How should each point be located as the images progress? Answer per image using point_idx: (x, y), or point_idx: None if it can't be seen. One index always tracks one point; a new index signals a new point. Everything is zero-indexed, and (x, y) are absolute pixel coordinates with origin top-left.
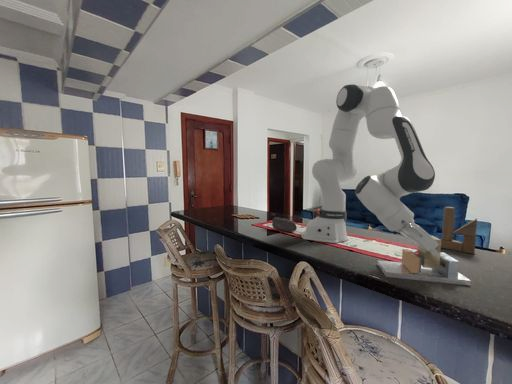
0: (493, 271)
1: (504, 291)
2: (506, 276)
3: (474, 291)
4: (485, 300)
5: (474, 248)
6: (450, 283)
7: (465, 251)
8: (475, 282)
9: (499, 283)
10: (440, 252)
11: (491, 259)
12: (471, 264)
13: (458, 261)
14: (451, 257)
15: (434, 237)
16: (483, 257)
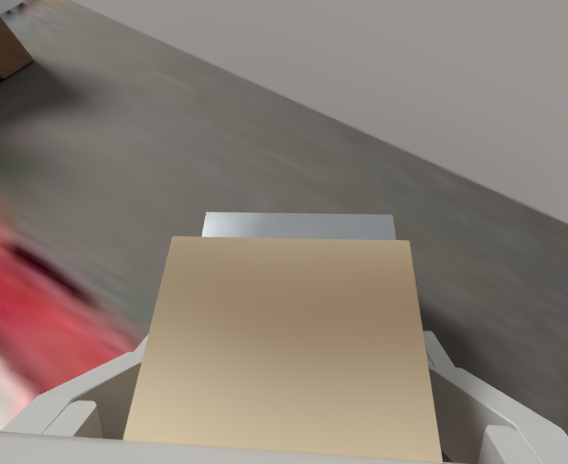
0: (205, 90)
1: (389, 149)
2: (245, 80)
3: (439, 249)
4: (520, 255)
5: (15, 36)
6: None
7: (8, 70)
8: (332, 196)
9: (316, 127)
10: (209, 235)
11: (92, 43)
12: (138, 116)
13: (391, 217)
14: (312, 218)
15: (273, 261)
16: (71, 53)
